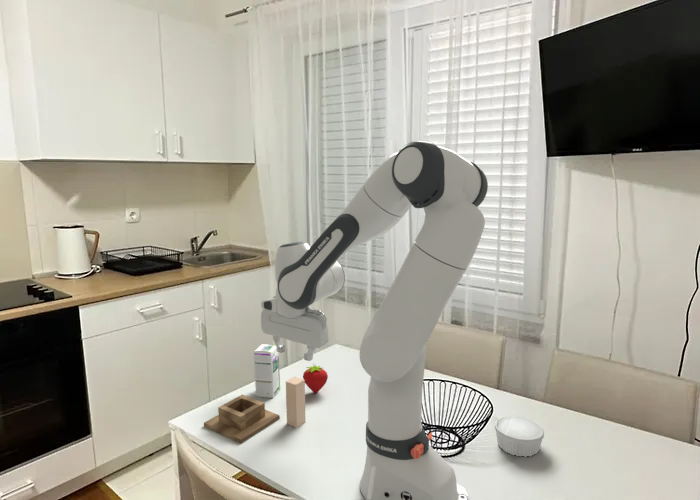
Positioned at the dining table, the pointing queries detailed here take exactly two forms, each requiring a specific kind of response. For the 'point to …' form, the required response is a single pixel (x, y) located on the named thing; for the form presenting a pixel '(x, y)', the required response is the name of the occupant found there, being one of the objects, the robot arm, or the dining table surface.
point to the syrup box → (266, 370)
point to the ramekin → (519, 435)
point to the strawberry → (315, 378)
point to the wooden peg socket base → (241, 418)
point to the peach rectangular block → (295, 401)
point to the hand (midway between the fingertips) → (294, 355)
